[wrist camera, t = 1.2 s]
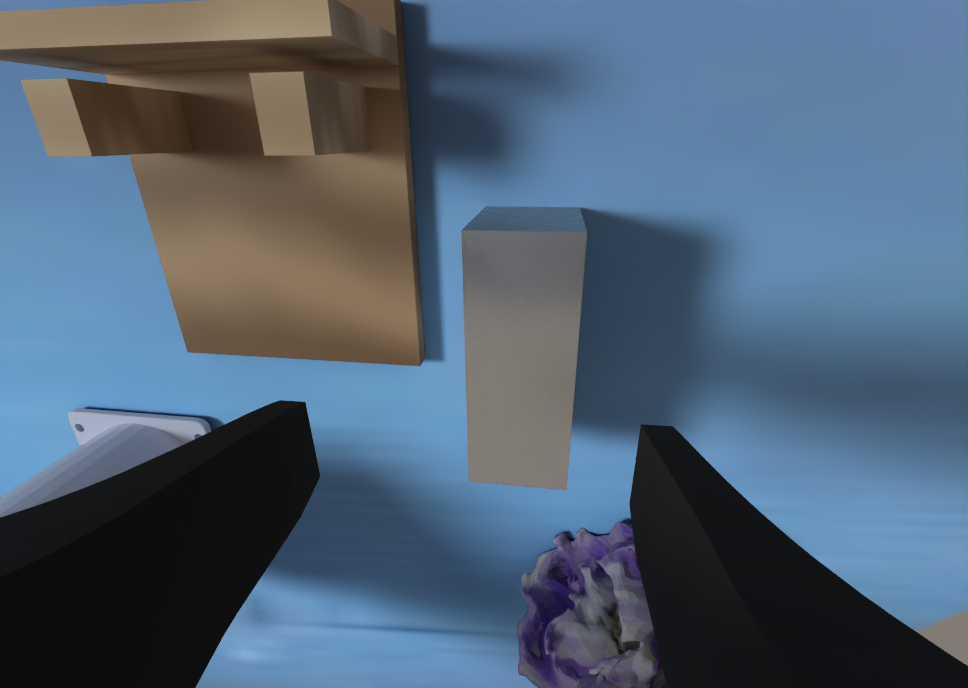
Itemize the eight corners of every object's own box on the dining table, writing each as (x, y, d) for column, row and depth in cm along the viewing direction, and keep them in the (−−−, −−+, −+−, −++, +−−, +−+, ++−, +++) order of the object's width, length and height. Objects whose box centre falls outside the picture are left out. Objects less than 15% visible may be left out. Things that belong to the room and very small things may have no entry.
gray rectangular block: (564, 413, 21) (566, 490, 16) (487, 408, 21) (468, 481, 17) (579, 207, 17) (586, 232, 13) (486, 205, 18) (461, 230, 13)
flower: (843, 745, 18) (656, 806, 14) (678, 722, 24) (516, 759, 20) (753, 503, 22) (594, 496, 18) (635, 536, 28) (496, 536, 24)
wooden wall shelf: (425, 358, 21) (379, 433, 15) (199, 345, 22) (88, 410, 17) (401, 1, 15) (319, -69, 10) (106, 16, 17) (-99, -38, 12)
